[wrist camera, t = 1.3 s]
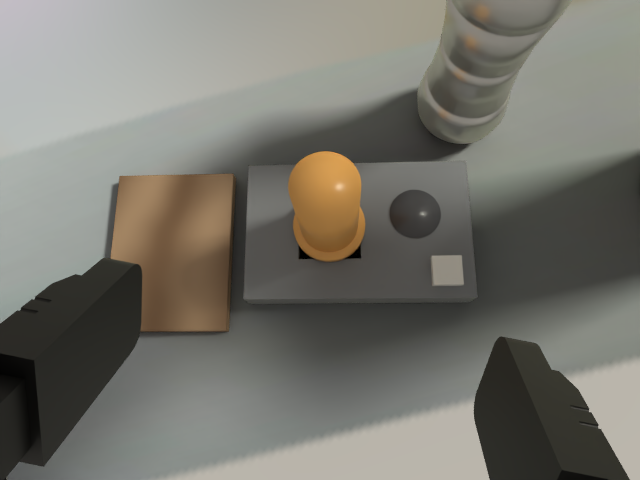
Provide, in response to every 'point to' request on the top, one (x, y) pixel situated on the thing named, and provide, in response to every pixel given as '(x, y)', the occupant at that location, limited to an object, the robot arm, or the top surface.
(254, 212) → the grey socket board
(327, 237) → the plug
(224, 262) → the board
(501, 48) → the plastic bottle
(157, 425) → the top surface
